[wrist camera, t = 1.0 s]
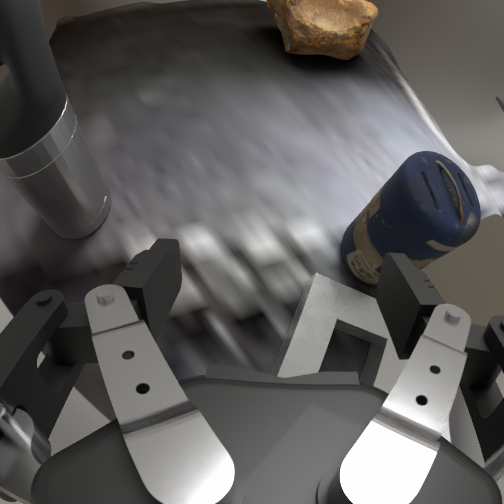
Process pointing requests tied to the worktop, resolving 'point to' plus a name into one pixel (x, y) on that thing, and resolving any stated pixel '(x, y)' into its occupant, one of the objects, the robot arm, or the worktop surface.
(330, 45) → the rough brown rock
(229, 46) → the worktop surface
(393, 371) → the grey square socket block
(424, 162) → the canister
